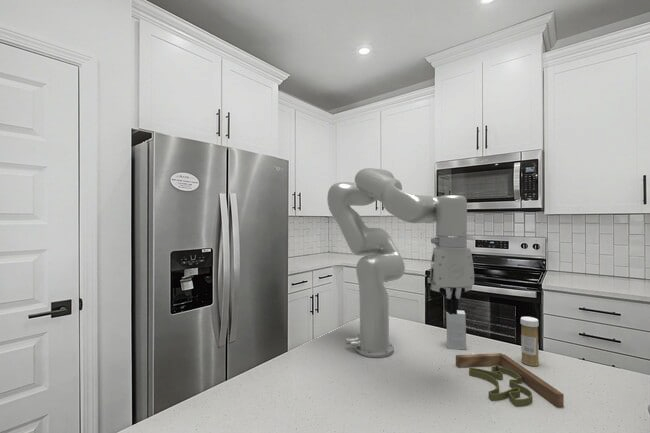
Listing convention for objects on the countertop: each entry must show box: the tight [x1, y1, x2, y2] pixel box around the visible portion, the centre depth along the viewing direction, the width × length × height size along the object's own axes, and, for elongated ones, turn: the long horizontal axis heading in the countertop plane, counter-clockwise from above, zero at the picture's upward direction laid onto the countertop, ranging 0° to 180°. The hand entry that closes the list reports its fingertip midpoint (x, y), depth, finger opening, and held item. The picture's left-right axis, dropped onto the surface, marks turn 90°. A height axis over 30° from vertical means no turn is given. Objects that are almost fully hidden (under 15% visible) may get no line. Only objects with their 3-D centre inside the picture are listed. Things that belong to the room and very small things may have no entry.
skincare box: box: [445, 309, 467, 351], centre depth 111 cm, size 6×4×12 cm
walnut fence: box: [455, 352, 565, 408], centre depth 86 cm, size 15×23×3 cm, turn 4°
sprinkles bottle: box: [520, 316, 540, 367], centre depth 98 cm, size 5×5×13 cm
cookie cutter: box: [468, 365, 533, 408], centre depth 85 cm, size 18×12×2 cm, turn 177°
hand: (451, 312), depth 86 cm, fingers closed
